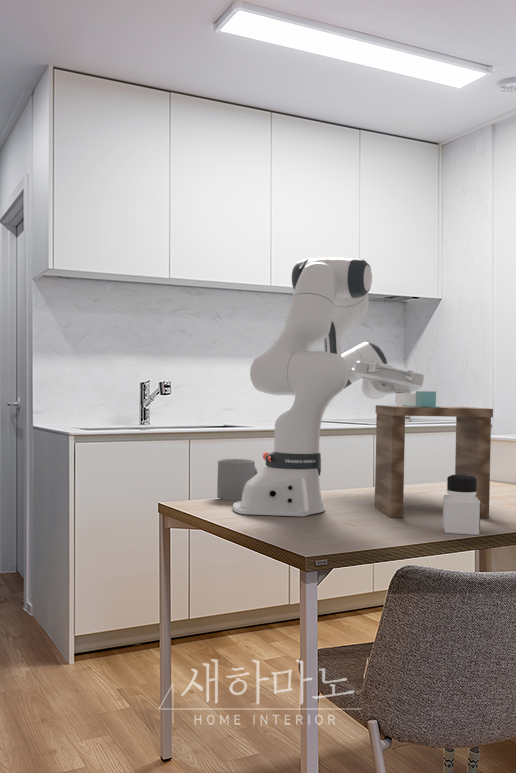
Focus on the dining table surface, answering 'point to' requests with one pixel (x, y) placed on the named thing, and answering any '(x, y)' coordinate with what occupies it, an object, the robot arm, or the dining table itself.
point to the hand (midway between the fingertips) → (393, 369)
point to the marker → (417, 399)
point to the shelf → (468, 459)
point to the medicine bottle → (461, 506)
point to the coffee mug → (234, 477)
